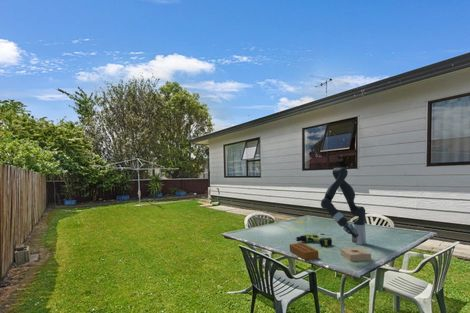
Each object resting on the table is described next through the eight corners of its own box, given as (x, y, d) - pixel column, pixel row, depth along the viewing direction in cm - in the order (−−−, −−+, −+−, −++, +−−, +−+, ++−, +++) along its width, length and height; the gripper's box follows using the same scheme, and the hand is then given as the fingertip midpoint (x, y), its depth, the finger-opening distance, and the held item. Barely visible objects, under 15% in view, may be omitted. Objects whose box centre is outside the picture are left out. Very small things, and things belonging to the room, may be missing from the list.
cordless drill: (309, 248, 235) (293, 242, 258) (333, 246, 244) (315, 239, 267) (309, 240, 236) (293, 234, 259) (332, 238, 244) (315, 232, 268)
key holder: (340, 254, 218) (340, 248, 218) (360, 253, 219) (360, 247, 219) (350, 261, 202) (349, 254, 202) (371, 260, 203) (371, 253, 203)
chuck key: (351, 241, 212) (350, 228, 213) (355, 241, 213) (354, 228, 213) (353, 242, 209) (352, 229, 209) (357, 242, 209) (357, 229, 210)
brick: (289, 251, 232) (289, 244, 232) (302, 249, 235) (302, 242, 235) (304, 260, 208) (304, 252, 208) (318, 258, 211) (318, 250, 211)
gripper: (339, 217, 212) (357, 235, 203) (346, 214, 222) (363, 231, 213) (333, 223, 215) (350, 241, 206) (340, 220, 225) (356, 237, 217)
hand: (356, 236), depth 210 cm, fingers closed on chuck key, 3 cm apart
